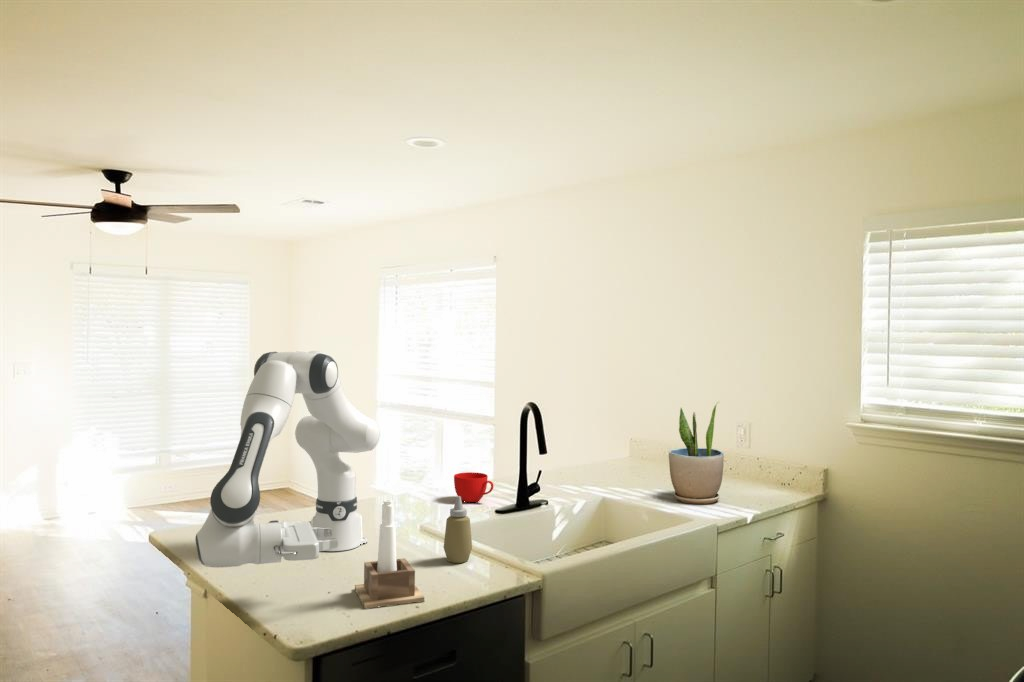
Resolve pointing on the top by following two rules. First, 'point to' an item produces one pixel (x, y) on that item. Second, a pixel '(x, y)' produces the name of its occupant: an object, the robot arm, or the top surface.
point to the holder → (388, 585)
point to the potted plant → (696, 465)
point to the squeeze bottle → (458, 534)
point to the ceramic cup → (471, 486)
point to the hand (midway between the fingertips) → (334, 537)
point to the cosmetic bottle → (387, 539)
